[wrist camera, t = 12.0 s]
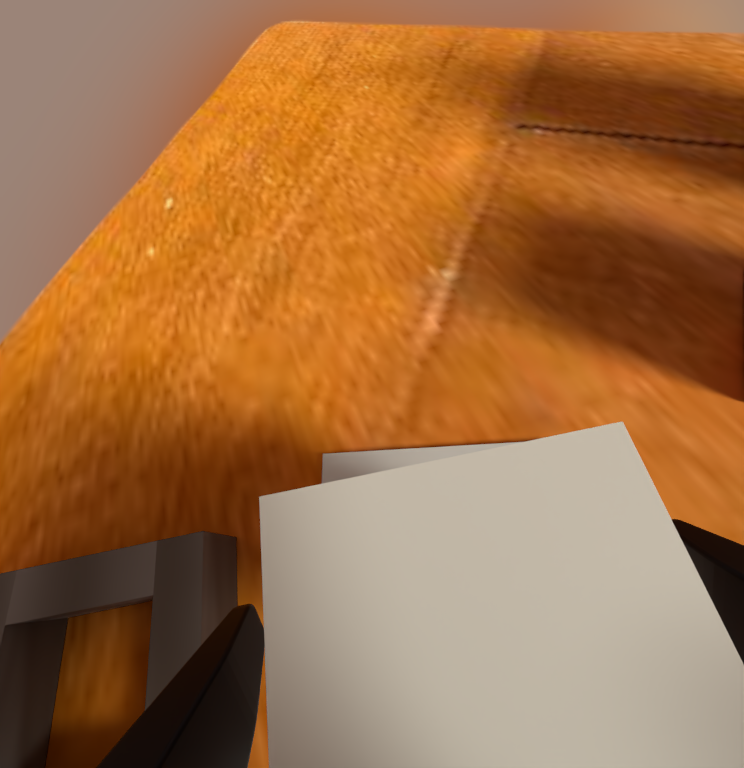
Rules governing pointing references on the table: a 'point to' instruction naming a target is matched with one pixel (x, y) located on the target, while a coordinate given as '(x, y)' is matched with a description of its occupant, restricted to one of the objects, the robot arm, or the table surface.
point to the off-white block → (494, 618)
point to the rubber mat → (389, 459)
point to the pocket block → (98, 593)
